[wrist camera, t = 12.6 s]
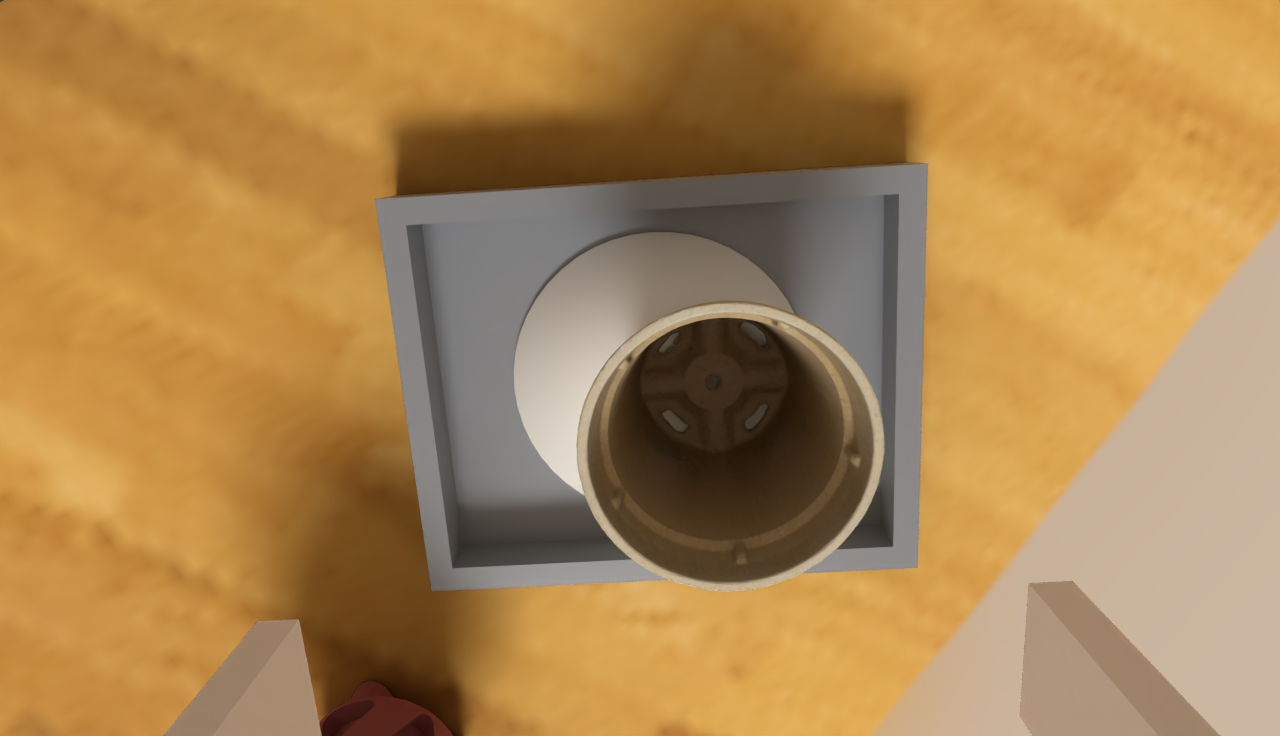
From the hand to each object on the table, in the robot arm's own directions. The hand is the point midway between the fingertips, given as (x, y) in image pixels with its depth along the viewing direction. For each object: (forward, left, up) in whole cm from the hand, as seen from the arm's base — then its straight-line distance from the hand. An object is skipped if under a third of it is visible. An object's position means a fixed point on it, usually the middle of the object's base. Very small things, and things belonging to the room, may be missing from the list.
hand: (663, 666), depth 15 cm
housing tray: (0, 0, -20) cm, 20 cm away
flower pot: (0, +2, -20) cm, 20 cm away
